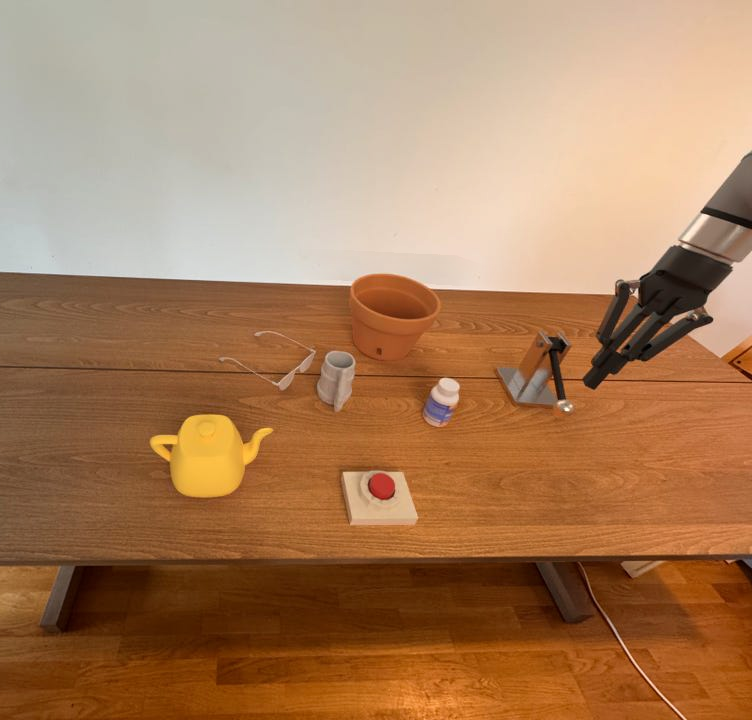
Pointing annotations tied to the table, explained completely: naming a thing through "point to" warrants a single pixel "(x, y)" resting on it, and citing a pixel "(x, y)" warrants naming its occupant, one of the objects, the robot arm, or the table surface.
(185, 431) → the teapot
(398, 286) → the flower pot
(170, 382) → the table surface
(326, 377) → the mug
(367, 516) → the button box
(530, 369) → the bracket
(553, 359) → the lever
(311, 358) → the eyeglasses
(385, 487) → the button
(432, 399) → the pill bottle
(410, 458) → the table surface
